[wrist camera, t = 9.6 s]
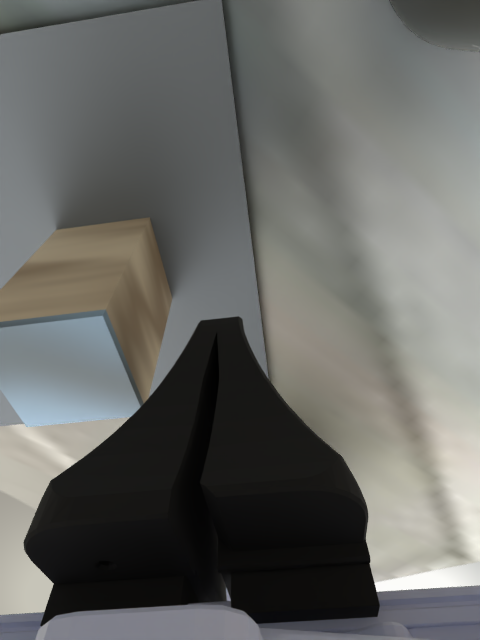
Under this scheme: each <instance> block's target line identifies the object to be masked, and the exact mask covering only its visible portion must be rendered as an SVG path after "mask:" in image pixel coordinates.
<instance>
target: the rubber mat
mask: <svg viewBox="0 0 480 640" xmlns="http://www.w3.org/2000/svg"><path fill="white" fill-rule="evenodd" d="M148 217H150V220H151V224H152V227H153V231H154V234H155V238H156V242H157V245H158V249H159V252H160V256H161V260H162V263H163V267H164V270H165V274H166V278H167V281H168V285H169V288H170V292H171V296H172V302H171V307H170V311H169V315H168V319H167V323H166V327H165V331H164V336H163V340H162V344H161V348H160V352H159V356H158V360H157V365H156V369H155V373H154V377H153V381H152V385H151V389H150V394H149V397H150V396H151V395H152V393H153V392H154V391H155V390H156V388H157V387H158V386H159V385H160V383H161V382H162V381H163V379H164V378H165V377H166V375H167V374H168V372H169V371H170V370H171V368H172V367H173V365H174V364H175V362H176V361H177V359H178V358H179V356H180V355H181V353H182V351H183V350H184V348H185V347H186V345H187V343H188V341H189V340H190V338H191V336H192V334H193V333H194V331H195V329H196V327H197V325H198V323H199V322H200V321H201V320H210V319H219V318H228V317H237V316H239V317H240V318H242V319H243V326H244V332H245V335H246V337H247V340H248V343H249V345H250V347H251V349H252V351H253V353H254V355H255V357H256V359H257V361H258V363H259V365H260V366H261V368H262V370H263V371H264V373H265V375H266V376H267V378H268V379H269V377H268V369H267V361H266V353H265V344H264V336H263V328H262V320H261V312H260V304H259V296H258V288H257V280H256V272H255V264H254V256H253V248H252V240H251V232H250V224H249V216H248V207H247V199H246V191H245V183H244V175H243V167H242V159H241V151H240V143H239V135H238V127H237V119H236V111H235V103H234V95H233V87H232V79H231V70H230V62H229V54H228V46H227V38H226V30H225V22H224V14H223V6H222V0H197V1H192V2H186V3H180V4H174V5H168V6H162V7H157V8H151V9H145V10H139V11H133V12H127V13H122V14H116V15H110V16H104V17H98V18H93V19H87V20H81V21H75V22H69V23H63V24H58V25H52V26H46V27H40V28H34V29H29V30H23V31H17V32H11V33H5V34H0V290H1V288H2V287H3V286H4V285H5V284H6V283H7V282H8V281H9V280H10V279H11V278H12V277H13V276H14V275H15V273H16V272H17V271H18V270H19V269H20V268H21V267H22V266H23V265H24V264H25V263H26V262H27V261H28V260H29V258H30V257H31V256H32V255H33V254H34V253H35V252H36V251H37V250H38V249H39V248H40V247H41V246H42V245H43V243H44V242H45V241H46V240H47V239H48V238H49V237H50V236H51V235H52V234H53V233H54V232H55V231H56V230H59V229H66V228H74V227H81V226H89V225H96V224H104V223H111V222H118V221H126V220H133V219H141V218H148ZM16 424H24V423H23V421H22V420H21V418H20V417H19V415H18V414H17V413H16V411H15V410H14V408H13V407H12V405H11V404H10V403H9V401H8V400H7V398H6V397H5V395H4V394H3V393H2V391H1V390H0V426H6V425H16Z"/></svg>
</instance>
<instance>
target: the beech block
mask: <svg viewBox="0 0 480 640" xmlns="http://www.w3.org/2000/svg"><path fill="white" fill-rule="evenodd" d="M171 302H172V296H171V292H170V288H169V285H168V281H167V278H166V274H165V270H164V267H163V263H162V260H161V256H160V252H159V249H158V245H157V242H156V238H155V234H154V231H153V227H152V224H151V220H150V217H148V218H141V219H133V220H126V221H118V222H111V223H104V224H96V225H89V226H81V227H74V228H66V229H59V230H56V231H55V232H54V233H53V234H52V235H51V236H50V237H49V238H48V239H47V240H46V241H45V242H44V243H43V245H42V246H41V247H40V248H39V249H38V250H37V251H36V252H35V253H34V254H33V255H32V256H31V257H30V258H29V260H28V261H27V262H26V263H25V264H24V265H23V266H22V267H21V268H20V269H19V270H18V271H17V272H16V273H15V275H14V276H13V277H12V278H11V279H10V280H9V281H8V282H7V283H6V284H5V285H4V286H3V287H2V288H1V290H0V390H1V391H2V393H3V394H4V395H5V397H6V398H7V400H8V401H9V403H10V404H11V405H12V407H13V408H14V410H15V411H16V413H17V414H18V415H19V417H20V418H21V420H22V421H23V423H24V424H25V425H26V427H32V426H43V425H53V424H63V423H73V422H83V421H94V420H104V419H114V418H124V417H131V416H132V415H133V414H134V413H135V412H136V411H137V410H138V409H139V408H140V407H141V406H142V405H143V404H144V403H145V401H146V400H147V399H148V398H149V394H150V389H151V385H152V381H153V377H154V373H155V369H156V365H157V360H158V356H159V352H160V348H161V344H162V340H163V336H164V331H165V327H166V323H167V319H168V315H169V311H170V307H171Z"/></svg>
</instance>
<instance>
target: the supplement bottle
mask: <svg viewBox="0 0 480 640" xmlns="http://www.w3.org/2000/svg"><path fill="white" fill-rule="evenodd" d="M389 1H390V3H391V5H392V7H393V9H394V10H395V12H396V14H397V15H398V17H399V18H400V19H401V21H402V22H403V23H404V24H405V25H406V26H407V27H408V28H409V29H410V30H411V31H412V32H413V33H414V34H415V35H417V36H418V37H419V38H421V39H423V40H425V41H426V42H428V43H431V44H433V45H436V46H439V47H442V48H446V49H452V50H460V51H471V52H480V0H389Z"/></svg>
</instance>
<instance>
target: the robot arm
mask: <svg viewBox="0 0 480 640" xmlns="http://www.w3.org/2000/svg"><path fill="white" fill-rule="evenodd" d="M367 523H368V509H367V505H366V502H365V499H364V497H363V495H362V492H361V490H360V488H359V486H358V484H357V482H356V480H355V478H354V476H353V474H352V473H351V471H350V469H349V468H348V466H347V464H346V463H345V461H344V459H343V458H342V456H341V455H340V454H338V453H337V452H336V451H335V450H333V449H332V448H331V447H330V446H329V445H328V444H326V443H325V442H324V441H323V440H322V439H321V438H320V437H318V436H317V435H316V434H315V433H314V432H313V431H312V430H311V429H310V428H309V427H308V426H307V425H306V424H305V423H304V422H303V421H302V420H301V419H300V418H299V417H298V415H297V414H296V413H295V412H294V411H293V410H292V409H291V408H290V407H289V406H288V404H287V403H286V402H285V401H284V399H283V398H282V397H281V396H280V394H279V393H278V392H277V390H276V389H275V388H274V386H273V385H272V384H271V382H270V381H269V379H268V378H267V376H266V375H265V373H264V371H263V370H262V368H261V366H260V365H259V363H258V361H257V359H256V357H255V355H254V353H253V351H252V349H251V347H250V345H249V343H248V340H247V337H246V335H245V332H244V326H243V319H242V318H240V317H239V316H237V317H228V318H219V319H210V320H201V321H200V322H199V323H198V325H197V327H196V329H195V331H194V333H193V334H192V336H191V338H190V340H189V341H188V343H187V345H186V347H185V348H184V350H183V351H182V353H181V355H180V356H179V358H178V359H177V361H176V362H175V364H174V365H173V367H172V368H171V370H170V371H169V372H168V374H167V375H166V377H165V378H164V379H163V381H162V382H161V383H160V385H159V386H158V387H157V388H156V390H155V391H154V392H153V393H152V395H151V396H150V397H149V398H148V399H147V400H146V401H145V403H144V404H143V405H142V406H141V407H140V408H139V409H138V410H137V411H136V412H135V413H134V414H133V415H132V416H131V417H130V418H129V419H128V420H127V421H126V422H125V423H124V424H123V425H122V426H121V427H120V428H119V429H118V430H117V431H116V432H114V433H113V434H112V435H111V436H110V437H109V438H107V439H106V440H105V441H104V442H103V443H101V444H100V445H99V446H98V447H96V448H95V449H94V450H93V451H91V452H90V453H89V454H88V455H86V456H85V457H84V458H82V459H81V460H79V461H78V462H77V463H75V464H74V465H72V466H71V467H70V468H68V469H67V470H65V471H64V472H63V473H61V474H60V475H58V476H57V477H55V478H54V479H52V480H51V481H50V483H49V485H48V487H47V489H46V491H45V493H44V495H43V497H42V499H41V501H40V504H39V506H38V509H37V511H36V513H35V516H34V518H33V521H32V523H31V525H30V528H29V530H28V533H27V535H26V538H25V540H24V550H25V552H26V554H27V555H28V557H29V558H30V559H31V561H32V562H33V563H34V564H35V565H36V566H37V567H38V568H39V569H40V570H41V571H42V572H43V573H44V574H45V575H46V576H47V577H48V578H49V579H50V580H51V581H52V582H53V583H54V585H53V588H52V591H51V594H50V597H49V600H48V603H47V606H46V610H45V612H42V613H25V614H9V615H0V640H480V586H465V587H448V588H433V589H432V588H431V589H415V590H399V591H384V592H376V588H375V584H374V580H373V576H372V572H371V568H370V564H369V563H370V555H369V551H368V547H367V543H366V531H367Z"/></svg>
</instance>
